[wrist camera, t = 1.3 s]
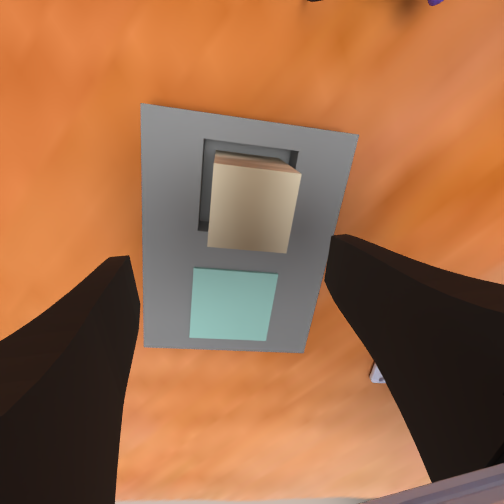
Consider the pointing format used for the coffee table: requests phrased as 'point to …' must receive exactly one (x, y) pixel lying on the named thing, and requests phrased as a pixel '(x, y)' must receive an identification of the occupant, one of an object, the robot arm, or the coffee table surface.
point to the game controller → (431, 0)
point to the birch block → (252, 202)
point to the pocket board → (232, 260)
